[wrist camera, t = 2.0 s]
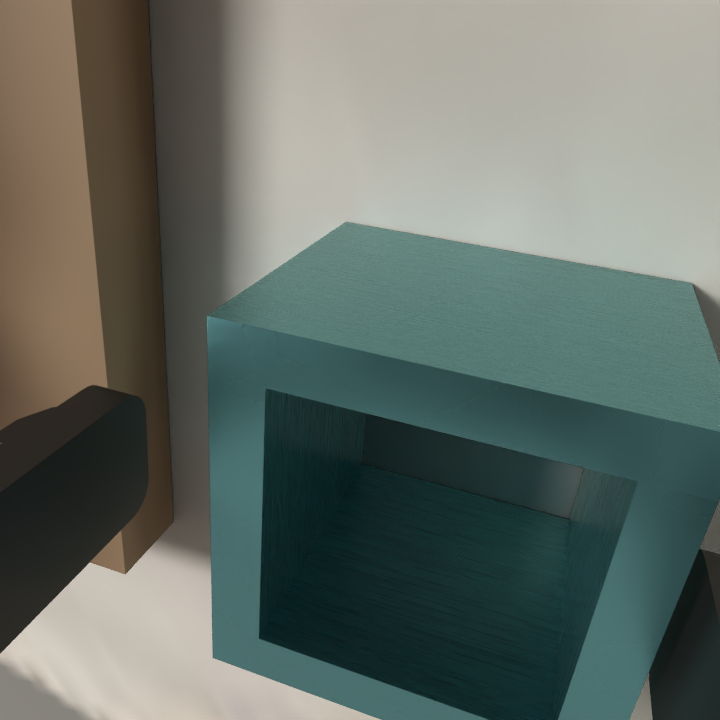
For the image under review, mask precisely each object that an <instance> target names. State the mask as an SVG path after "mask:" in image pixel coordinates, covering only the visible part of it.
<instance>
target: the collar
mask: <svg viewBox="0 0 720 720" xmlns="http://www.w3.org/2000/svg"><path fill="white" fill-rule="evenodd" d="M207 350H208V408H209V467H210V525H211V583H212V641H213V658H215V659H218V660H220V661H223V662H226V663H228V664H231V665H234V666H237V667H239V668H242V669H245V670H248V671H250V672H253V673H256V674H258V675H261V676H264V677H267V678H269V679H272V680H275V681H277V682H280V683H283V684H286V685H288V686H291V687H294V688H297V689H299V690H302V691H305V692H307V693H310V694H313V695H316V696H318V697H321V698H324V699H327V700H329V701H332V702H335V703H337V704H340V705H343V706H346V707H348V708H351V709H354V710H357V711H359V712H362V713H365V714H367V715H370V716H373V717H376V718H378V719H381V720H629V719H630V716H631V714H632V711H633V709H634V707H635V704H636V702H637V699H638V697H639V694H640V692H641V690H642V687H643V685H644V682H645V680H646V677H647V675H648V672H649V670H650V668H651V665H652V663H653V660H654V658H655V655H656V653H657V650H658V648H659V646H660V643H661V641H662V638H663V636H664V633H665V631H666V628H667V626H668V624H669V621H670V619H671V616H672V614H673V611H674V609H675V607H676V604H677V602H678V599H679V597H680V594H681V592H682V589H683V587H684V585H685V582H686V580H687V577H688V575H689V572H690V570H691V567H692V565H693V563H694V560H695V558H696V555H697V553H698V550H699V548H700V546H701V543H702V541H703V538H704V536H705V533H706V531H707V528H708V526H709V524H710V521H711V519H712V516H713V514H714V511H715V509H716V506H717V504H718V502H719V499H720V364H719V361H718V358H717V355H716V352H715V349H714V346H713V343H712V340H711V337H710V335H709V332H708V329H707V326H706V323H705V320H704V317H703V314H702V311H701V308H700V305H699V303H698V300H697V297H696V294H695V291H694V288H693V285H692V283H688V282H682V281H677V280H671V279H665V278H660V277H654V276H648V275H643V274H637V273H631V272H626V271H620V270H614V269H609V268H603V267H597V266H592V265H586V264H581V263H575V262H569V261H564V260H558V259H552V258H547V257H541V256H535V255H530V254H524V253H518V252H513V251H507V250H501V249H496V248H490V247H484V246H479V245H473V244H468V243H462V242H456V241H451V240H445V239H439V238H434V237H428V236H422V235H417V234H411V233H405V232H400V231H394V230H388V229H383V228H377V227H372V226H366V225H360V224H355V223H349V222H345V223H343V224H342V225H340V226H339V227H337V228H336V229H334V230H333V231H331V232H330V233H329V234H327V235H326V236H324V237H323V238H321V239H320V240H318V241H317V242H315V243H314V244H312V245H311V246H309V247H308V248H306V249H305V250H303V251H302V252H300V253H299V254H297V255H296V256H295V257H293V258H292V259H290V260H289V261H287V262H286V263H284V264H283V265H281V266H280V267H278V268H277V269H275V270H274V271H272V272H271V273H269V274H268V275H266V276H265V277H263V278H262V279H260V280H259V281H258V282H256V283H255V284H253V285H252V286H250V287H249V288H247V289H246V290H244V291H243V292H241V293H240V294H238V295H237V296H235V297H234V298H232V299H231V300H229V301H228V302H226V303H225V304H223V305H222V306H221V307H219V308H218V309H216V310H215V311H213V312H212V313H210V314H209V315H207ZM367 414H371V415H375V416H379V417H383V418H387V419H391V420H395V421H399V422H403V423H407V424H411V425H415V426H419V427H423V428H427V429H431V430H435V431H439V432H443V433H447V434H451V435H455V436H459V437H463V438H467V439H471V440H475V441H479V442H483V443H487V444H491V445H495V446H499V447H503V448H507V449H511V450H515V451H519V452H523V453H527V454H531V455H535V456H539V457H543V458H547V459H551V460H555V461H559V462H563V463H567V464H571V465H575V466H579V467H583V468H584V471H583V474H582V478H581V481H580V485H579V488H578V492H577V495H576V499H575V502H574V506H573V509H572V512H571V516H570V519H565V518H561V517H558V516H554V515H550V514H546V513H543V512H539V511H535V510H532V509H528V508H524V507H521V506H517V505H513V504H509V503H506V502H502V501H498V500H495V499H491V498H487V497H483V496H480V495H476V494H472V493H469V492H465V491H461V490H458V489H454V488H450V487H446V486H443V485H439V484H435V483H432V482H428V481H424V480H421V479H417V478H413V477H409V476H406V475H402V474H398V473H395V472H391V471H387V470H383V469H380V468H376V467H372V466H369V465H365V464H362V458H363V449H364V439H365V430H366V421H367Z"/></svg>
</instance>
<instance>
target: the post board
mask: <svg viewBox="0 0 720 720" xmlns="http://www.w3.org/2000/svg"><path fill="white" fill-rule="evenodd" d="M91 385H98V386H101V387H105V388H109V389H113V390H116V391H120V392H124V393H127V394H131V395H135V396H138V397H140V398H141V399H142V400H143V402H144V404H145V408H146V423H147V447H148V470H149V482H148V489H147V493H146V496H145V499H144V501H143V503H142V505H141V507H140V509H139V511H138V512H137V514H136V515H135V516H134V517H133V519H132V520H131V521H130V522H129V523H128V524H127V525H126V526H125V527H124V528H123V529H122V530H121V531H120V532H119V533H118V534H117V535H116V536H115V537H114V538H113V539H112V540H111V541H110V542H109V543H108V544H107V545H106V546H105V547H104V548H103V549H102V550H101V551H100V552H99V553H98V554H97V555H96V556H95V557H94V558H93V559H92V560H91V561H90V562H91V563H94V564H97V565H100V566H102V567H105V568H108V569H111V570H114V571H117V572H120V573H123V574H126V573H127V572H128V571H129V570H130V569H131V568H132V567H133V565H134V564H135V563H136V562H137V561H138V560H139V559H140V558H141V557H142V556H143V554H144V553H145V552H146V551H147V550H148V549H149V548H150V547H151V546H152V545H153V544H154V542H155V541H156V540H157V539H158V538H159V537H160V536H161V535H162V534H163V533H164V531H165V530H166V529H167V528H168V527H169V526H170V525H171V524H172V523H173V501H172V481H171V460H170V440H169V419H168V399H167V378H166V358H165V337H164V317H163V296H162V276H161V256H160V235H159V215H158V194H157V174H156V153H155V133H154V112H153V92H152V71H151V51H150V30H149V10H148V0H0V430H2V429H3V428H5V427H6V426H8V425H10V424H11V423H13V422H14V421H16V420H17V419H20V418H23V417H26V416H29V415H31V414H34V413H37V412H40V411H43V410H46V409H49V408H51V407H57V406H59V405H60V404H62V403H63V402H65V401H66V400H68V399H69V398H71V397H72V396H74V395H75V394H77V393H78V392H80V391H81V390H83V389H84V388H86V387H88V386H91Z"/></svg>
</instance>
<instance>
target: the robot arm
mask: <svg viewBox="0 0 720 720" xmlns="http://www.w3.org/2000/svg"><path fill="white" fill-rule="evenodd" d="M148 482H149V470H148V447H147V423H146V408H145V404H144V402H143V400H142V399H141V398H140V397H138V396H135V395H131V394H127V393H124V392H120V391H116V390H113V389H109V388H105V387H101V386H98V385H91V386H88V387H86V388H84V389H83V390H81V391H80V392H78V393H77V394H75V395H74V396H72V397H71V398H69V399H68V400H66V401H65V402H63V403H62V404H60V405H59V406H57V407H51V408H49V409H46V410H43V411H40V412H37V413H34V414H31V415H29V416H26V417H23V418H20V419H17V420H16V421H14V422H13V423H11V424H10V425H8V426H6V427H5V428H3V429H2V430H0V653H1V652H2V651H3V650H4V649H5V648H6V647H7V646H8V645H9V644H10V643H11V642H12V641H13V640H14V639H15V638H16V637H17V636H18V635H19V634H20V633H21V632H22V631H23V630H24V629H25V628H26V627H27V626H28V625H29V624H30V623H31V622H32V621H33V620H34V619H35V617H36V616H37V615H38V614H39V613H40V612H41V611H42V610H43V609H44V608H45V607H46V606H47V605H48V604H49V603H50V602H51V601H52V600H53V599H54V598H55V597H56V596H57V595H58V594H59V593H60V592H61V591H62V590H63V589H64V588H65V587H66V586H67V585H68V584H69V583H70V582H71V581H72V580H73V579H74V578H75V577H76V576H77V575H78V574H79V573H80V572H81V571H82V570H83V569H84V568H85V567H86V566H87V564H88V563H89V562H90V561H91V560H92V559H93V558H94V557H95V556H96V555H97V554H98V553H99V552H100V551H101V550H102V549H103V548H104V547H105V546H106V545H107V544H108V543H109V542H110V541H111V540H112V539H113V538H114V537H115V536H116V535H117V534H118V533H119V532H120V531H121V530H122V529H123V528H124V527H125V526H126V525H127V524H128V523H129V522H130V521H131V520H132V519H133V517H134V516H135V515H136V514H137V512H138V511H139V509H140V507H141V505H142V503H143V501H144V499H145V496H146V493H147V489H148ZM649 683H650V695H651V705H652V716H653V720H720V554H717V553H713V552H710V551H706V550H702V549H699V550H698V553H697V555H696V558H695V560H694V563H693V565H692V567H691V570H690V572H689V575H688V577H687V580H686V582H685V585H684V587H683V589H682V592H681V594H680V597H679V599H678V602H677V604H676V607H675V609H674V611H673V614H672V616H671V619H670V621H669V624H668V626H667V628H666V631H665V633H664V636H663V638H662V641H661V643H660V646H659V648H658V650H657V653H656V655H655V658H654V660H653V663H652V665H651V668H650V670H649Z"/></svg>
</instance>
